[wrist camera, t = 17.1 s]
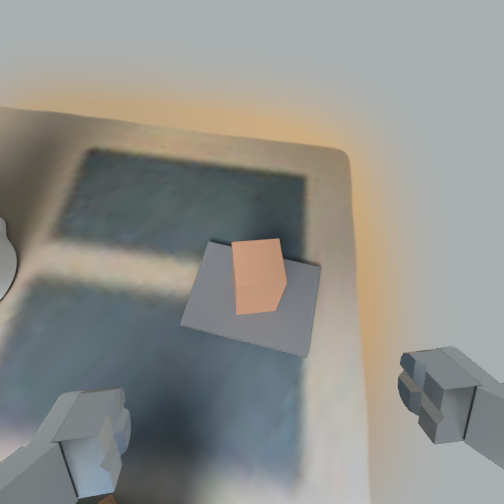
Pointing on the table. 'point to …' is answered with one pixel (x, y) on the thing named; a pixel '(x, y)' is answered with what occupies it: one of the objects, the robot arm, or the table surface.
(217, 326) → the mat
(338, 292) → the table surface
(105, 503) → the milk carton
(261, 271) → the block
